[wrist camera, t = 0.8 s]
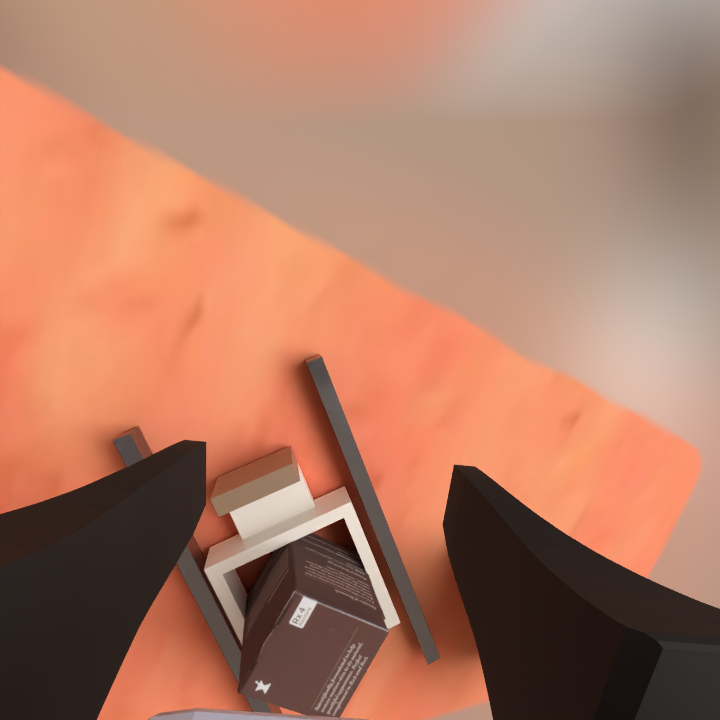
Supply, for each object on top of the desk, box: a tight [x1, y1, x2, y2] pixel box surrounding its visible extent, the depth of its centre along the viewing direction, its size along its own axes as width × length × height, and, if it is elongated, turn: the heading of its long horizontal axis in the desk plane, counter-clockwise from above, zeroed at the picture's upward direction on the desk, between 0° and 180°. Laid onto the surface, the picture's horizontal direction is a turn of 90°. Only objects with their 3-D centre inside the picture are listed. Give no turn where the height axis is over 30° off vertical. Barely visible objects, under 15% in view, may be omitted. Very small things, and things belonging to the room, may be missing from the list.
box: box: [238, 533, 389, 718], centre depth 25 cm, size 6×6×7 cm
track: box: [113, 355, 440, 714], centre depth 27 cm, size 13×24×2 cm, turn 21°
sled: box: [204, 446, 400, 644], centre depth 26 cm, size 10×14×3 cm
